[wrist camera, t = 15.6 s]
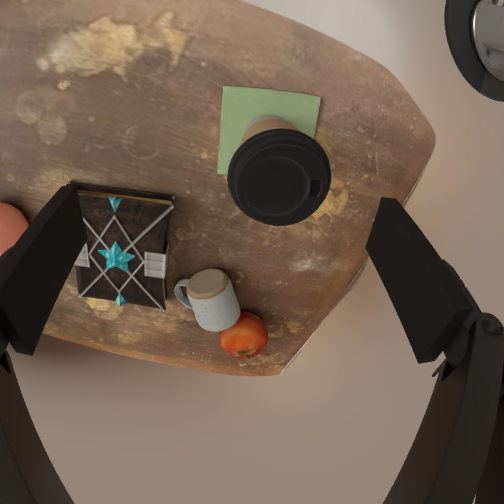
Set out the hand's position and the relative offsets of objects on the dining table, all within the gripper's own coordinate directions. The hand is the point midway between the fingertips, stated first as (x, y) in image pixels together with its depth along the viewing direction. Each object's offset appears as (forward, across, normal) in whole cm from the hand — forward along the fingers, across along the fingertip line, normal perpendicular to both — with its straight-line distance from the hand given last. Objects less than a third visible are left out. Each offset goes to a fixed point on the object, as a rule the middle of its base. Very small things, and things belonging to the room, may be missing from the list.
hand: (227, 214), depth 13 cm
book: (+29, -17, -24) cm, 41 cm away
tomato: (+29, +4, -41) cm, 50 cm away
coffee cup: (+28, +5, -5) cm, 29 cm away
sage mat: (+29, +5, -5) cm, 29 cm away
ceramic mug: (+29, -3, -32) cm, 43 cm away
